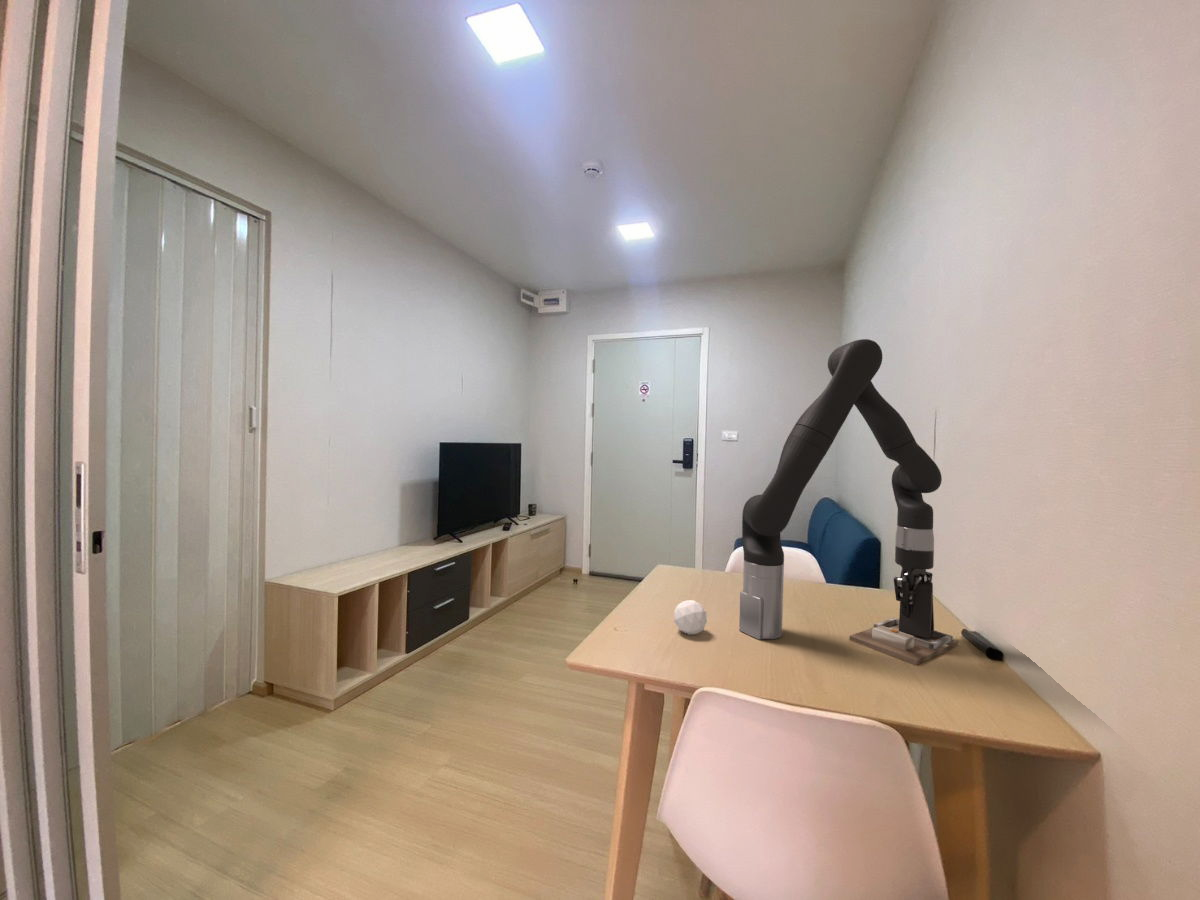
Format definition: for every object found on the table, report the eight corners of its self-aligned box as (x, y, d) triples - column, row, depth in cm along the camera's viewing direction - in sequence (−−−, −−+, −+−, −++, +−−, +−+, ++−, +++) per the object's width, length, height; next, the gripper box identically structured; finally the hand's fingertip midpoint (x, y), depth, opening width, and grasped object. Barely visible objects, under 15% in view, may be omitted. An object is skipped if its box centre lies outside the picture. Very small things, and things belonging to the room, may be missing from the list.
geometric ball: (690, 647, 105) (681, 627, 101) (672, 624, 112) (664, 604, 108) (716, 630, 106) (709, 609, 102) (697, 608, 113) (690, 587, 109)
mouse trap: (916, 665, 93) (916, 647, 93) (849, 639, 105) (849, 624, 105) (958, 645, 103) (958, 629, 103) (893, 624, 115) (893, 610, 115)
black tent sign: (930, 640, 100) (929, 586, 100) (898, 633, 104) (898, 581, 104) (934, 629, 107) (934, 579, 107) (904, 622, 111) (904, 574, 111)
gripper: (911, 540, 113) (909, 607, 113) (881, 545, 106) (880, 617, 106) (946, 546, 107) (944, 617, 107) (917, 552, 99) (915, 628, 99)
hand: (912, 617), depth 106 cm, fingers open, 4 cm apart
